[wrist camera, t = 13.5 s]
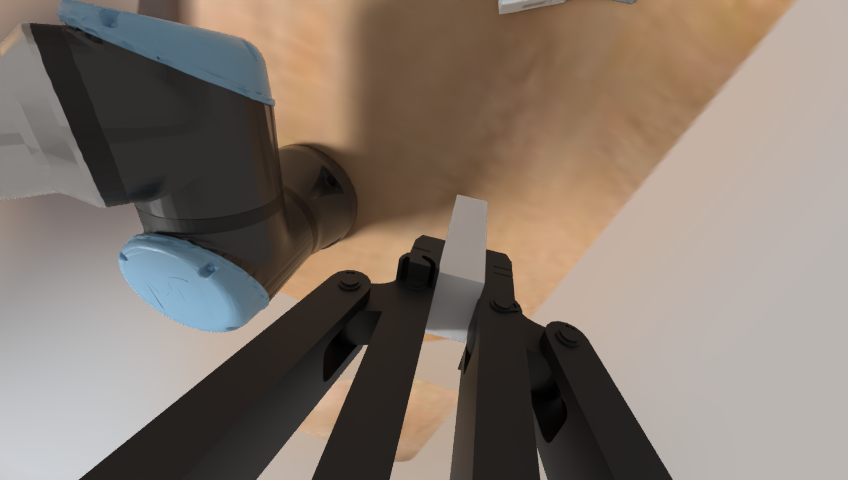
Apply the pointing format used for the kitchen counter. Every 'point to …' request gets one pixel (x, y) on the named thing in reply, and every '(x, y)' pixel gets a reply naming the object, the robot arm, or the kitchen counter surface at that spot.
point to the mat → (626, 1)
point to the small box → (523, 5)
